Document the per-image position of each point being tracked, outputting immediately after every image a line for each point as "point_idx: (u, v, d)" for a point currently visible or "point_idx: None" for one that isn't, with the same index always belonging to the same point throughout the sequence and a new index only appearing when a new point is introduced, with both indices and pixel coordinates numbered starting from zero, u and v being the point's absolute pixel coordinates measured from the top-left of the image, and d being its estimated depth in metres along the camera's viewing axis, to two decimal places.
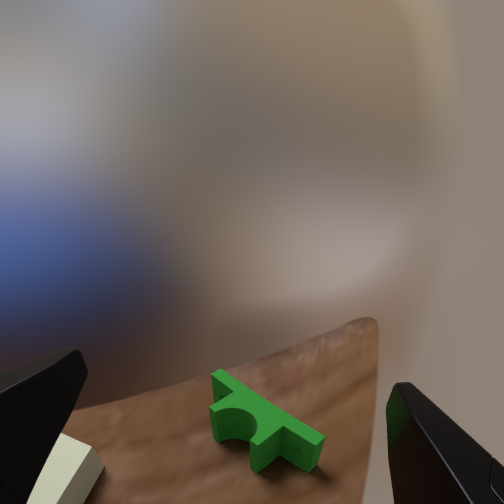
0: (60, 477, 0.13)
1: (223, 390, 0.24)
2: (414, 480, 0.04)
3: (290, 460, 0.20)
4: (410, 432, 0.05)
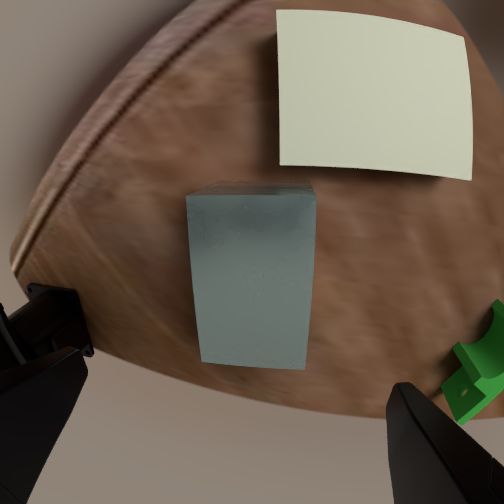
0: (407, 154, 0.12)
1: None
2: (414, 480, 0.04)
3: (457, 373, 0.19)
4: (410, 432, 0.05)
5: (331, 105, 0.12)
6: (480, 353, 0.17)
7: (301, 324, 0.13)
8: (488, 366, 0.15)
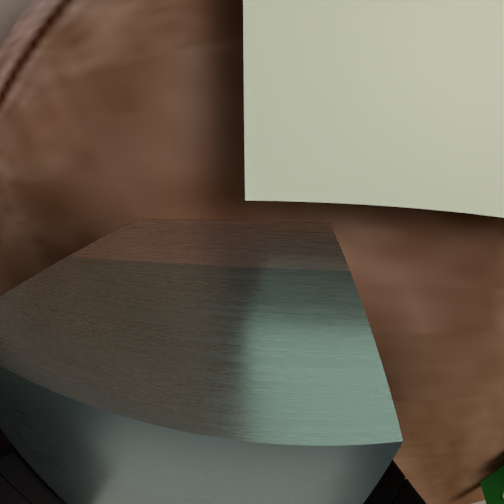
0: None
1: None
2: None
3: None
4: None
5: (407, 17, 0.03)
6: None
7: None
8: None
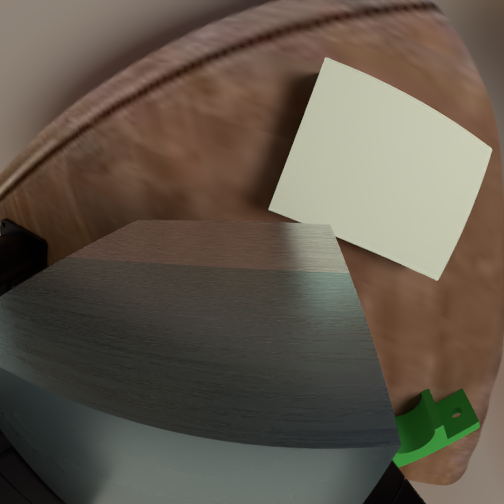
0: (387, 240, 0.14)
1: (458, 424, 0.17)
2: None
3: None
4: None
5: (337, 171, 0.13)
6: None
7: None
8: None
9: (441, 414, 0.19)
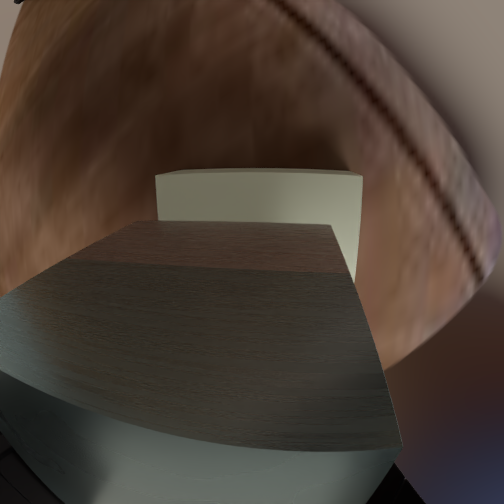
0: None
1: None
2: None
3: None
4: None
5: None
6: None
7: None
8: None
9: None
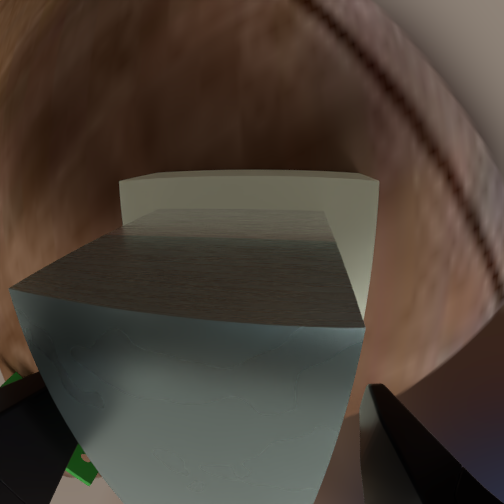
0: None
1: (78, 466, 0.17)
2: (381, 485, 0.04)
3: None
4: (378, 435, 0.05)
5: None
6: None
7: None
8: None
9: None
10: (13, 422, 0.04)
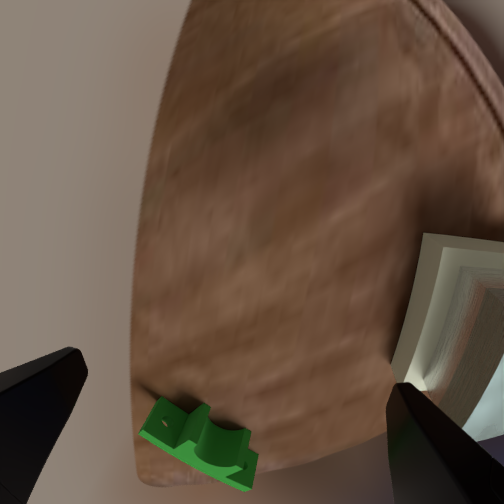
0: (429, 344, 0.16)
1: (238, 475, 0.22)
2: (414, 480, 0.04)
3: (177, 409, 0.24)
4: (410, 432, 0.05)
5: None
6: (204, 429, 0.23)
7: None
8: (199, 442, 0.21)
9: None
10: None
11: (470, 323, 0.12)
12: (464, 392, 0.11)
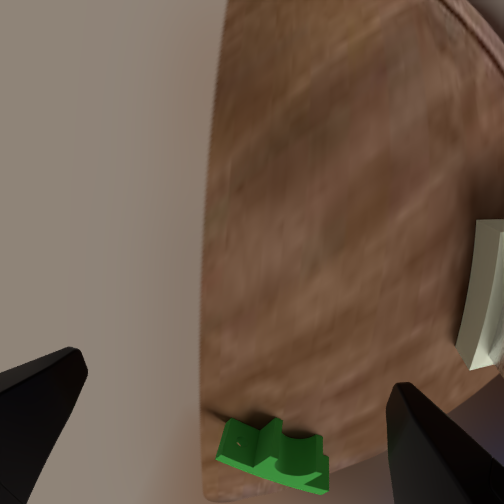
0: (493, 321, 0.15)
1: (315, 480, 0.21)
2: (414, 480, 0.04)
3: (248, 428, 0.24)
4: (410, 432, 0.05)
5: None
6: None
7: None
8: None
9: None
10: None
11: None
12: None
